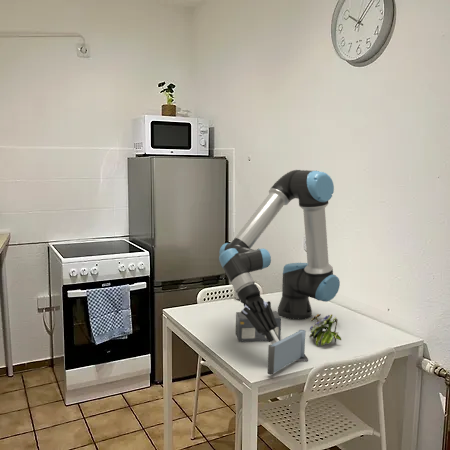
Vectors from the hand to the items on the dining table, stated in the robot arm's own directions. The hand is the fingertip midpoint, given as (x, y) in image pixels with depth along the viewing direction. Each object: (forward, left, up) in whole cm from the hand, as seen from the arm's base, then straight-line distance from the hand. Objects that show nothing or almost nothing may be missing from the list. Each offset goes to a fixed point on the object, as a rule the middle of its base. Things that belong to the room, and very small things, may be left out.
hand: (278, 349), depth 163 cm
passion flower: (-23, -21, -7) cm, 32 cm away
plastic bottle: (0, -77, -7) cm, 77 cm away
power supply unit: (+2, -27, -6) cm, 28 cm away
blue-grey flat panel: (-3, 0, -5) cm, 6 cm away
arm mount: (-9, -6, -6) cm, 13 cm away
